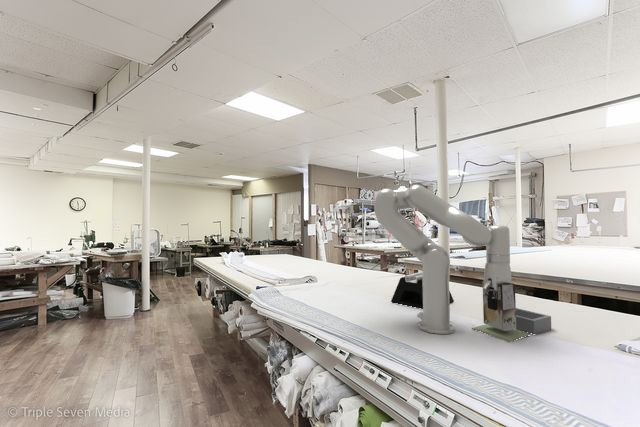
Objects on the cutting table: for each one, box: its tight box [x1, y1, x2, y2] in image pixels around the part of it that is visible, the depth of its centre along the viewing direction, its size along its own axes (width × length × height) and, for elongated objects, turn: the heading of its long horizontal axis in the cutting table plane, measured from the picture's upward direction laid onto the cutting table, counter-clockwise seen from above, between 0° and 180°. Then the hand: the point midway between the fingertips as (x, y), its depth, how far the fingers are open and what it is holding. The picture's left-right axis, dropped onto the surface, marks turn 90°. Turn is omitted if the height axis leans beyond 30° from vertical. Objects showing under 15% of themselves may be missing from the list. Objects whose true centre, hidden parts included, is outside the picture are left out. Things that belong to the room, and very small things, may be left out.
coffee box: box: [482, 280, 517, 331], centre depth 111 cm, size 9×6×16 cm
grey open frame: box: [515, 307, 552, 335], centre depth 118 cm, size 14×11×6 cm
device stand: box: [390, 270, 455, 310], centre depth 154 cm, size 22×22×15 cm
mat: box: [471, 324, 531, 343], centre depth 111 cm, size 14×12×1 cm
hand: (498, 307), depth 111 cm, fingers closed on coffee box, 7 cm apart
